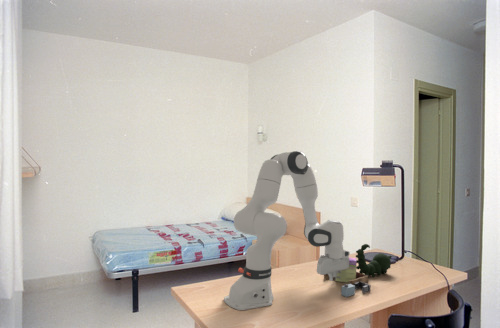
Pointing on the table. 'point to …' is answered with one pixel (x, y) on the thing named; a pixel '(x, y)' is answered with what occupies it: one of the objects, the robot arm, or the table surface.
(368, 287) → the bracket
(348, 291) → the blue block with knob
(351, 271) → the box
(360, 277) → the wooden square frame
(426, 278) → the table surface
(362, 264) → the toy figurine
